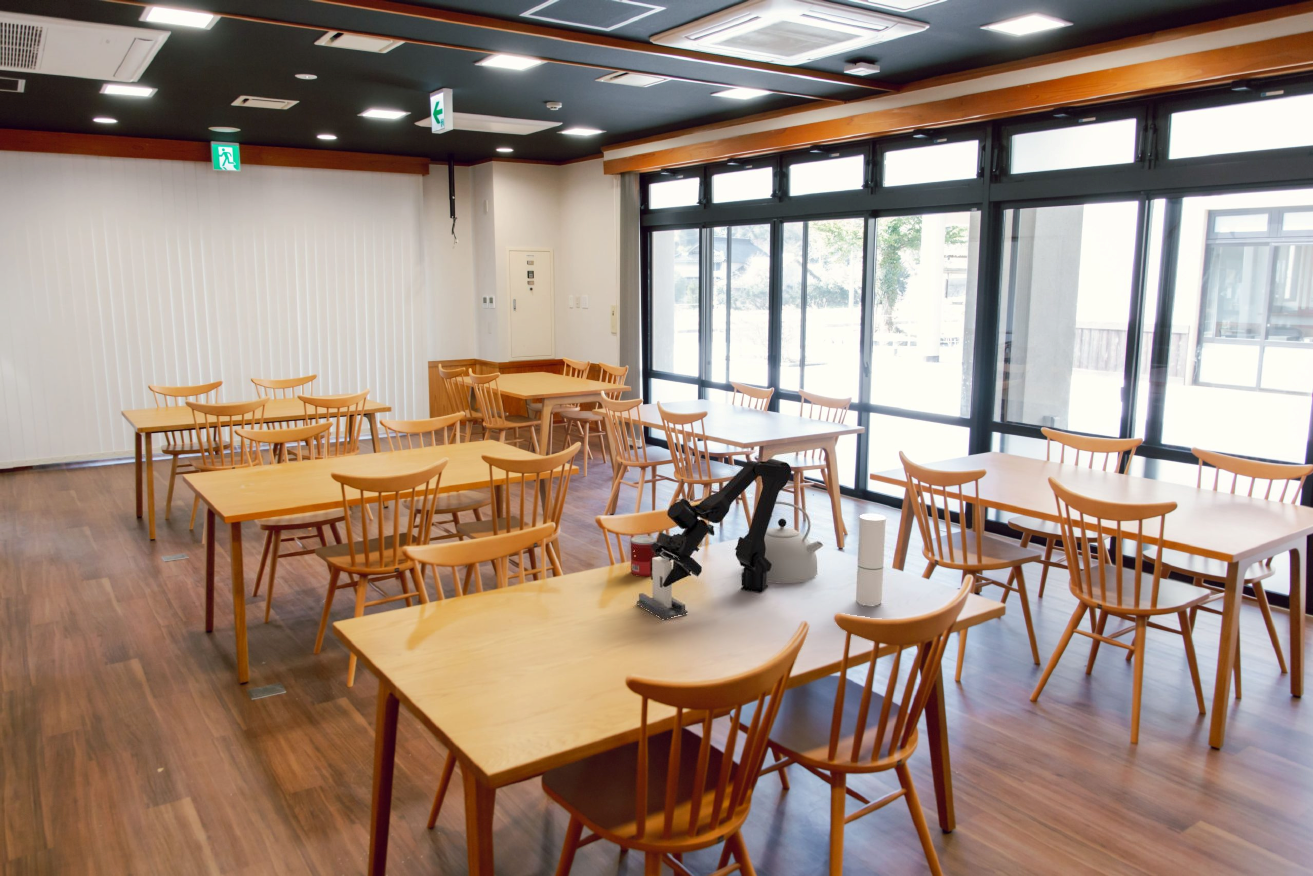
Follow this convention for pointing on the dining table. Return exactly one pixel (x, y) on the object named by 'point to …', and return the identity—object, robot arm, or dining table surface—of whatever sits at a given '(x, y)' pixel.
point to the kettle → (790, 553)
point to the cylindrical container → (870, 559)
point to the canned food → (642, 555)
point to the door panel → (661, 581)
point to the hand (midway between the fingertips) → (657, 583)
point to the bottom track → (661, 607)
